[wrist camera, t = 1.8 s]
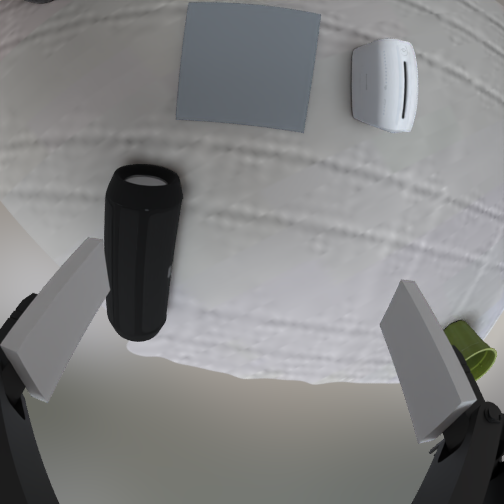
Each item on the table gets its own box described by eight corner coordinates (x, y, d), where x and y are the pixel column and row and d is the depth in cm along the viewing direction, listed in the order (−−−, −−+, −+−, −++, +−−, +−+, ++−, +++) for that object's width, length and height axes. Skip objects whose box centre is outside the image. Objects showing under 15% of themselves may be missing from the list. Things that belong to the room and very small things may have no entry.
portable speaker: (171, 311, 52) (157, 353, 44) (120, 296, 51) (99, 335, 43) (193, 171, 39) (174, 197, 31) (127, 157, 38) (92, 179, 30)
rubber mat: (190, 3, 27) (188, 2, 27) (319, 15, 28) (321, 14, 27) (177, 118, 36) (175, 119, 35) (302, 132, 36) (303, 132, 35)
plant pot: (482, 309, 50) (506, 345, 41) (461, 347, 56) (478, 383, 47) (443, 312, 51) (466, 352, 41) (422, 352, 57) (438, 392, 47)
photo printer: (348, 45, 30) (384, 30, 19) (380, 49, 30) (425, 39, 19) (348, 121, 35) (383, 136, 24) (379, 123, 35) (423, 141, 24)
